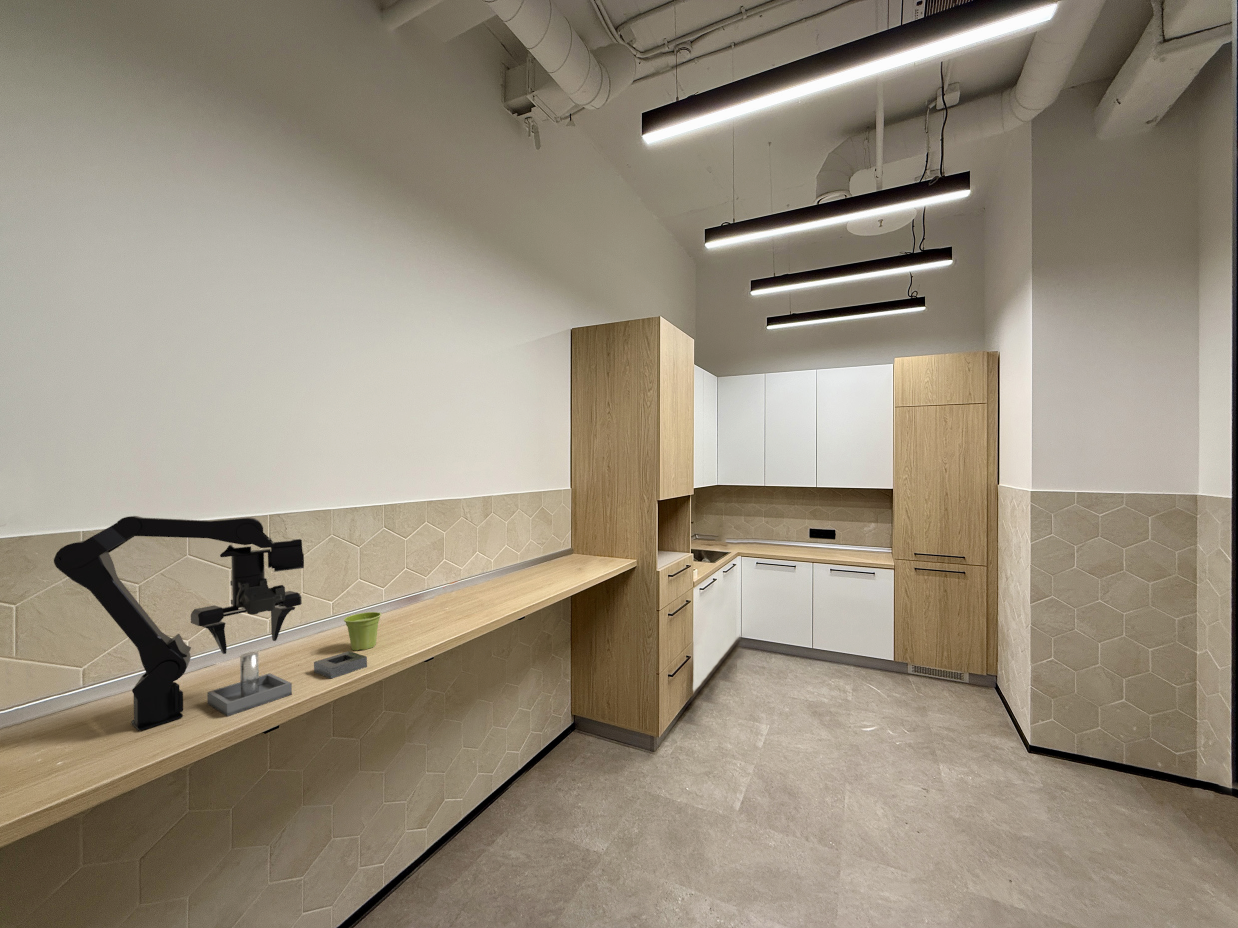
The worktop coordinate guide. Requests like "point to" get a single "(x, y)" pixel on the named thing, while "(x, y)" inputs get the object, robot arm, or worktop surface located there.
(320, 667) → the pin holder
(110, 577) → the robot arm
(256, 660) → the pin
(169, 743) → the worktop surface
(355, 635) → the plant pot
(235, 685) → the parts tray
